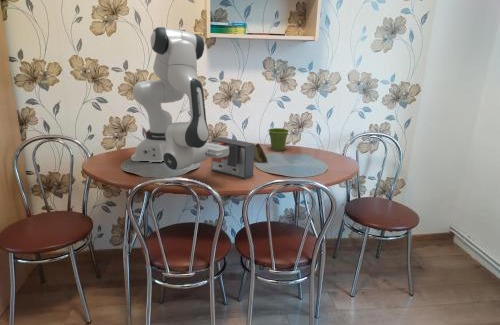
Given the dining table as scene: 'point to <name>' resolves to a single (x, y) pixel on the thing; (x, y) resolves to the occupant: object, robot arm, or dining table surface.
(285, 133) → the plant pot
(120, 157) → the dining table surface
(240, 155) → the rocker switch panel
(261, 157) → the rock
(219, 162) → the rocker red
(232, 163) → the rocker black
